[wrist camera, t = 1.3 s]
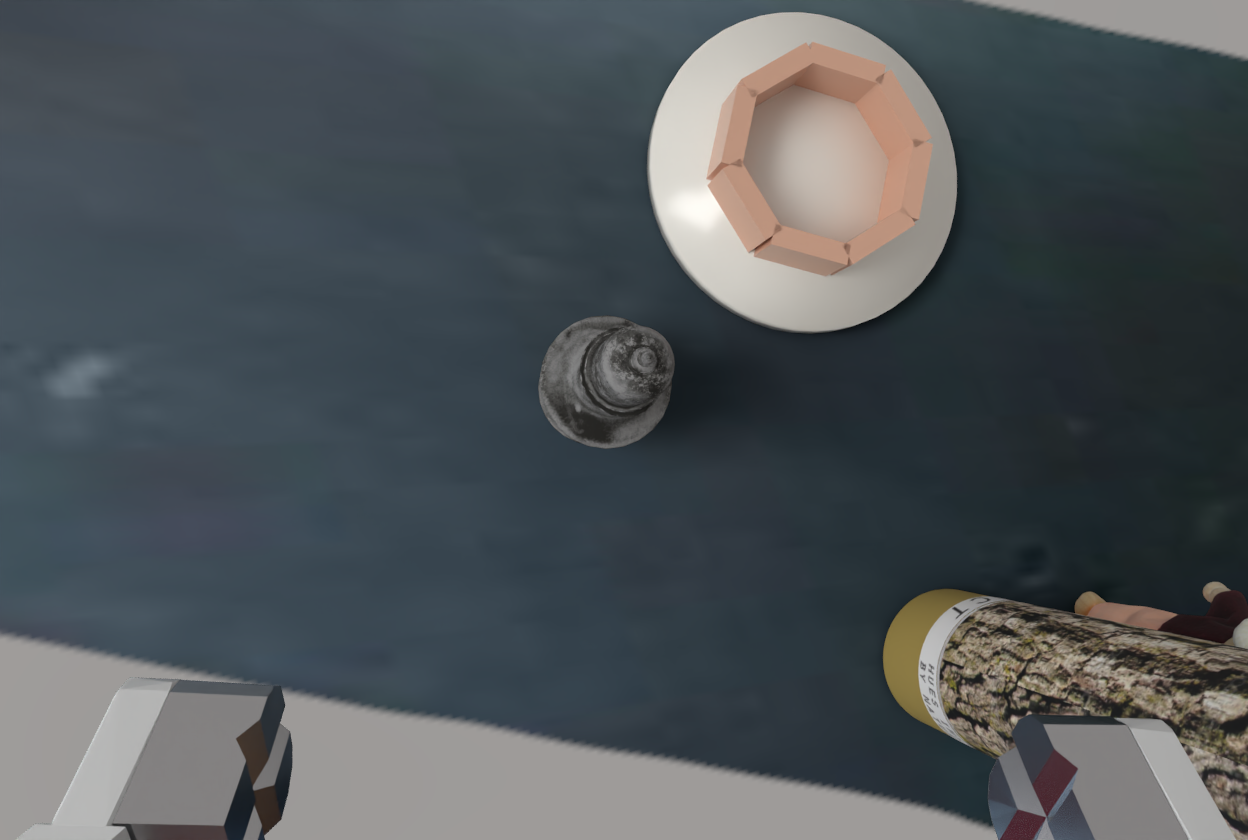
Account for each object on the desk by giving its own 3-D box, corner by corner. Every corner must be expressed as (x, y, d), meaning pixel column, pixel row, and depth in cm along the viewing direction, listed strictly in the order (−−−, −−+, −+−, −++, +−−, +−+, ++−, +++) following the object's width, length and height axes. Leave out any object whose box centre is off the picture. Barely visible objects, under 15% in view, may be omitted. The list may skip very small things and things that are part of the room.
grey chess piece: (637, 316, 46) (706, 259, 34) (666, 434, 46) (746, 418, 34) (518, 342, 45) (548, 293, 33) (548, 464, 45) (589, 458, 33)
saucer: (616, 288, 46) (630, 273, 42) (683, -19, 48) (702, -58, 44) (916, 366, 49) (953, 358, 45) (970, 73, 50) (1009, 44, 47)
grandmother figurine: (1072, 707, 49) (1287, 783, 37) (1019, 660, 49) (1219, 721, 36) (1153, 591, 51) (1387, 627, 38) (1103, 544, 50) (1323, 565, 38)
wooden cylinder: (982, 738, 48) (1548, 1004, 24) (861, 704, 47) (1323, 946, 22) (1014, 607, 49) (1594, 733, 24) (896, 570, 48) (1380, 663, 23)
